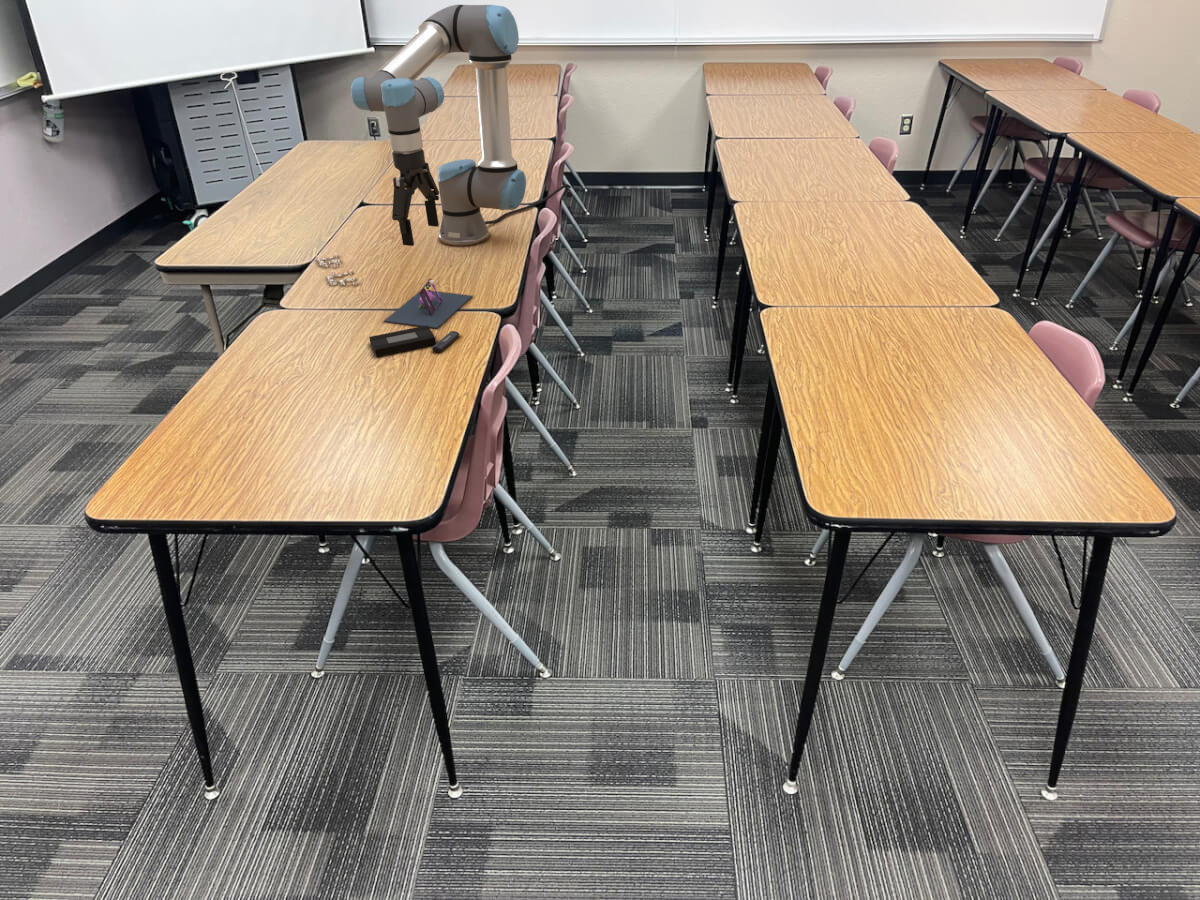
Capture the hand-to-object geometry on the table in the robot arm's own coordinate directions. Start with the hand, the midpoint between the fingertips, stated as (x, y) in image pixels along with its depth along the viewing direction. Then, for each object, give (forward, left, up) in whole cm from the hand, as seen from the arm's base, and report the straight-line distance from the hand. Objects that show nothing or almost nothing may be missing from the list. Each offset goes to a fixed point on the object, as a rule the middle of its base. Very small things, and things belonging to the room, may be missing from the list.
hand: (421, 235), depth 207 cm
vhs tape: (+26, +6, -18) cm, 32 cm away
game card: (+6, +2, -18) cm, 19 cm away
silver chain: (-10, -36, -18) cm, 41 cm away
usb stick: (+23, +16, -18) cm, 33 cm away
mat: (+6, +2, -18) cm, 19 cm away
